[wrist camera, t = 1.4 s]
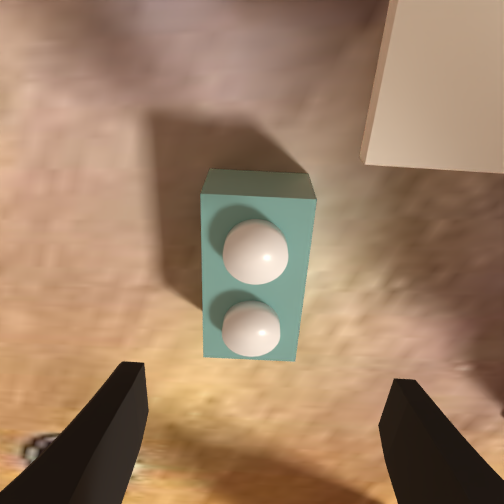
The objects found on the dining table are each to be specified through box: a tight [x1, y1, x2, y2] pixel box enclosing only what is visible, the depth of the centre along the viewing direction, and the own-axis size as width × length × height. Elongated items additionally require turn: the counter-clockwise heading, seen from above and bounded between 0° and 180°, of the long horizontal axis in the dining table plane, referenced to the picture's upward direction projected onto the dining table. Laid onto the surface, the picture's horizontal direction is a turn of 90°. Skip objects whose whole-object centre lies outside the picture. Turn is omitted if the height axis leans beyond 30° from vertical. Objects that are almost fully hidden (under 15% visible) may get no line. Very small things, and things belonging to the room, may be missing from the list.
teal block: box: [200, 169, 317, 361], centre depth 19 cm, size 8×4×4 cm, turn 177°
